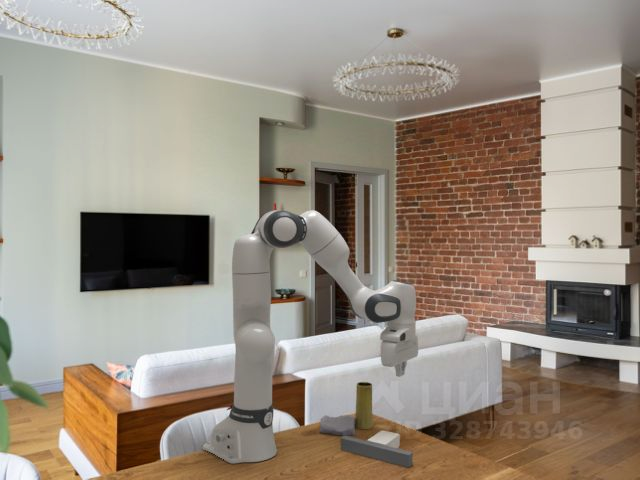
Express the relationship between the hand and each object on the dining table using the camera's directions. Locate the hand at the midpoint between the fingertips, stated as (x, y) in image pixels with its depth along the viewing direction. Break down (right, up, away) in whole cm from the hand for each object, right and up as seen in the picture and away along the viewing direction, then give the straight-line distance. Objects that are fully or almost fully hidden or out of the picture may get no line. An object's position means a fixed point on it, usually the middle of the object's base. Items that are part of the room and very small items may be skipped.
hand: (400, 375), depth 173 cm
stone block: (-20, -20, +6) cm, 29 cm away
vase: (-11, -20, +10) cm, 25 cm away
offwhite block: (-6, -20, -9) cm, 23 cm away
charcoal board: (-9, -20, -15) cm, 26 cm away
